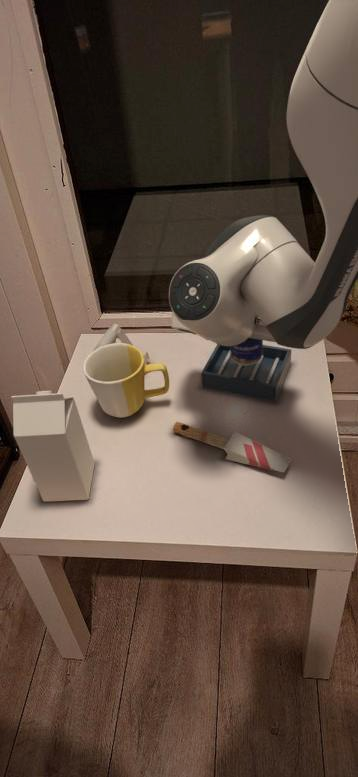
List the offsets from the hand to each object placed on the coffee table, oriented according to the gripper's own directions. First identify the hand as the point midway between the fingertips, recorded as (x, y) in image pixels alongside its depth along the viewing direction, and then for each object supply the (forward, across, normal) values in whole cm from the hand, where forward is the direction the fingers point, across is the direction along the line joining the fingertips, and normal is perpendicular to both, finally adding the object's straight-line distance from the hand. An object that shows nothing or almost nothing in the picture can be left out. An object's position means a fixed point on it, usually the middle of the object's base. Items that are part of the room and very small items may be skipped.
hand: (247, 330), depth 93 cm
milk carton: (-16, +19, +30) cm, 39 cm away
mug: (-3, +17, +17) cm, 24 cm away
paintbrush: (-6, -3, +20) cm, 21 cm away
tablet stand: (+2, +22, +12) cm, 26 cm away
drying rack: (+6, 0, +7) cm, 10 cm away
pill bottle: (+4, 0, +4) cm, 6 cm away
